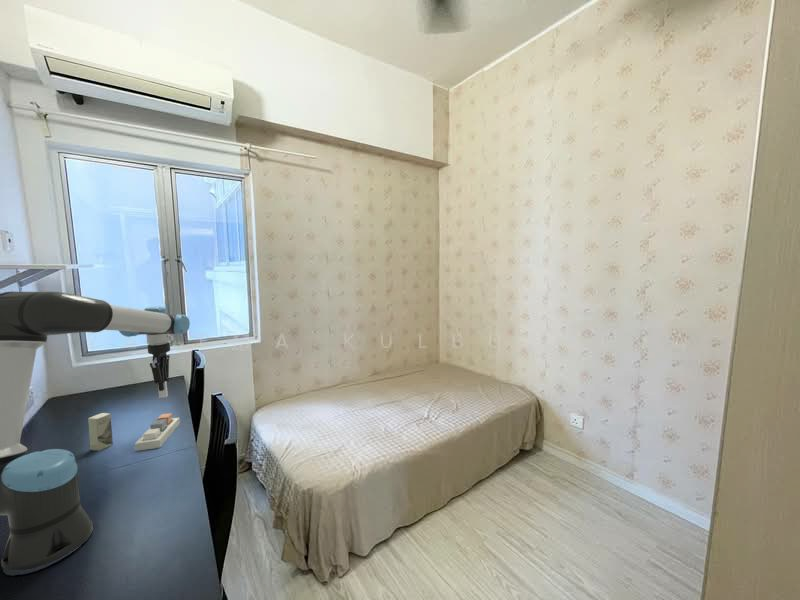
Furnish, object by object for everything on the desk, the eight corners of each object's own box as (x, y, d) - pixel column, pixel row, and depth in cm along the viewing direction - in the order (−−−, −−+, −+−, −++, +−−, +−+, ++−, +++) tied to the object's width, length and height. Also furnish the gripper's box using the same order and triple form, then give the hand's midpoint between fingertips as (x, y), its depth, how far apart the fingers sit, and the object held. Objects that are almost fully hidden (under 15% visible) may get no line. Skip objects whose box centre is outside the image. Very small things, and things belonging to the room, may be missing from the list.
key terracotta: (168, 424, 136) (168, 417, 136) (157, 425, 135) (157, 418, 135) (172, 420, 140) (171, 413, 140) (161, 421, 139) (161, 414, 138)
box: (99, 451, 121) (95, 419, 120) (90, 450, 122) (86, 418, 121) (114, 444, 126) (111, 413, 125) (105, 443, 127) (102, 412, 126)
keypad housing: (160, 447, 123) (159, 440, 123) (135, 450, 121) (134, 443, 121) (179, 423, 143) (179, 417, 142) (159, 426, 140) (158, 419, 140)
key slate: (162, 431, 130) (161, 423, 130) (151, 432, 129) (150, 425, 129) (166, 426, 134) (166, 419, 134) (155, 427, 133) (154, 420, 133)
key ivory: (155, 440, 125) (155, 432, 124) (143, 442, 124) (143, 434, 123) (160, 435, 128) (159, 428, 128) (148, 437, 127) (148, 429, 127)
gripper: (162, 346, 129) (167, 401, 131) (175, 339, 141) (179, 390, 144) (140, 347, 127) (145, 404, 129) (155, 340, 139) (160, 392, 142)
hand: (163, 396), depth 136 cm, fingers closed
